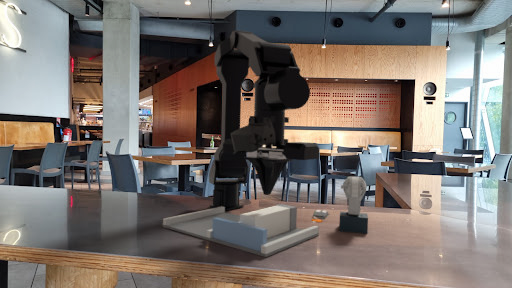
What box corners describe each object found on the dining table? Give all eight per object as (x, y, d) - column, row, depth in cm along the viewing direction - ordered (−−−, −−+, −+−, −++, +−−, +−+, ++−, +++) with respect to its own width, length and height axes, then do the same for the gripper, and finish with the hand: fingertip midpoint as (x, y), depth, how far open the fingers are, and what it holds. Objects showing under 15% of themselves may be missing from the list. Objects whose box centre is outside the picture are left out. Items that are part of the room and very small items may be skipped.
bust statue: (366, 225, 81) (368, 175, 81) (367, 235, 73) (370, 179, 73) (339, 223, 83) (341, 173, 82) (338, 233, 75) (340, 178, 74)
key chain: (313, 214, 93) (314, 208, 93) (329, 216, 92) (329, 210, 92) (305, 227, 81) (305, 220, 81) (322, 229, 80) (322, 222, 80)
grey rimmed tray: (221, 213, 89) (221, 196, 89) (318, 235, 73) (319, 214, 73) (162, 226, 76) (163, 207, 76) (265, 257, 60) (266, 232, 59)
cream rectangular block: (279, 225, 78) (280, 204, 78) (296, 228, 75) (296, 206, 75) (238, 238, 68) (239, 214, 68) (255, 243, 65) (256, 217, 65)
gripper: (202, 109, 69) (201, 193, 70) (287, 108, 58) (284, 208, 58) (242, 112, 78) (240, 187, 79) (322, 111, 67) (319, 199, 67)
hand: (267, 194), depth 71 cm, fingers closed
